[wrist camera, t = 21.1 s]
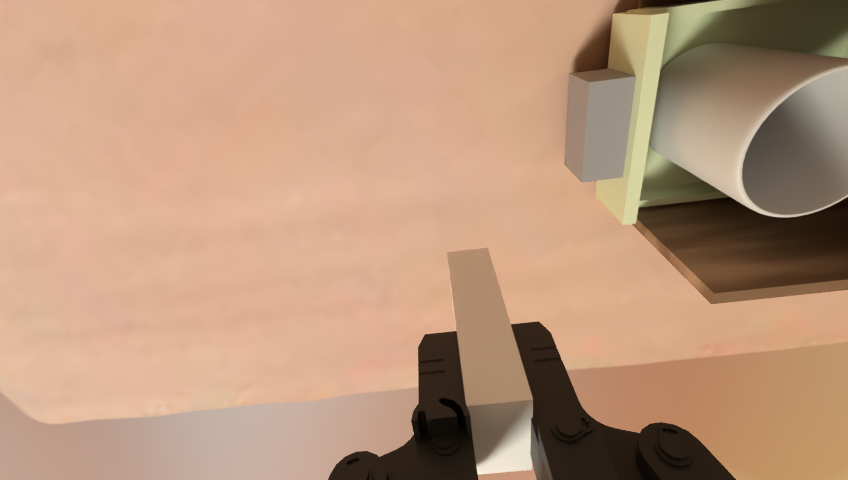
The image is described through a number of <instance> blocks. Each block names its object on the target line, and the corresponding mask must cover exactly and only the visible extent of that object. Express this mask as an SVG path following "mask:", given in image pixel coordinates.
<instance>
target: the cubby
mask: <svg viewBox="0 0 848 480" xmlns="http://www.w3.org/2000/svg"><path fill="white" fill-rule="evenodd" d="M689 1H696V0H638V6H637V9H638V8H646V7H653V6H660V5H667V4H675V3H682V2H689ZM632 225H633V226H634V227H635V228H636V229H637V230H638V231H639V232H640V233H641V234H642V235H643V236H644V237H645V238H646V239H647V240H648V241H649V242H650V243H651V244H652V245H653V246H654V247H655V248H656V249H657V250H658V251H659V252H660V253H661V254H662V255H663V256H664V257H665V258H666V259H667V260H668V261H669V262H670V263H671V264H672V265H673V266H674V267H675V268H676V269H677V270H678V271H679V272H680V273H681V274H682V275H683V276H684V277H685V278H686V279H687V280H688V281H689V282H690V283H691V284H692V285H693V286H694V287H695V288H696V289H697V290H698V291H699V292H700V293H701V294H702V295H703V296H704V297H705V298H706V299H707V300H708V301H709V302H710V303H711V304H717V303H726V302H736V301H746V300H755V299H765V298H774V297H784V296H793V295H803V294H812V293H822V292H831V291H841V290H848V197H846V198H845V199H843V200H842V201H840V202H838V203H836V204H834V205H832V206H830V207H828V208H825V209H823V210H820V211H817V212H814V213H811V214H807V215H802V216H797V217H773V216H767V215H764V214H760V213H758V212H756V211H754V210H752V209H750V208H748V207H746V206H744V205H743V204H741V203H740V202H738V201H736V200H735V199H733V198H731V197H726V198H717V199H709V200H700V201H691V202H683V203H674V204H666V205H657V206H648V207H640V208H638V214H637V220H636V224H632Z"/></svg>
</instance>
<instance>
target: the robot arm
mask: <svg viewBox="0 0 848 480" xmlns="http://www.w3.org/2000/svg"><path fill="white" fill-rule="evenodd" d="M447 258H448V267H449V276H450V285H451V294H452V303H453V312H454V320H455V328H456V331H454V332H444V333H435V334H425V335H424V337H423V339H422V341H421V343H420V345H419V347H418V362H419V364H418V369H419V404H418V405H417V407H416V408H415V410H414V412H413V416H412V420H411V422H412V426H413V431H414V435H413V436H412V438H411V439H410V440H409V441H408V442H407V443H406V444H405V445H404V446H402V447H400V448H398V449H396V450H395V451H392V452H390V453H388V454H385V455H383V456H381V457H378V456H377V455H376V454H373V453H371V452H368V451H362V452H355V453H352V454H350V455H348V456H346V457H344V458H343V459H342V460H341V461H340V462H339V463H338V464H336V466H335V468H334V469H333V471H332V473H331V474H330V476H329V479H328V480H478V474H489V473H500V472H511V471H523V470H532V462H533V466H534V470H535V474H536V478H537V480H736V479H735V478H734V477H733V476H732V475H731V474H730V473H729V472H728V470H727V469H726V468H725V467H724V466H723V465H722V464H721V463H720V462H719V461H718V460H717V459H716V458H715V457H714V456H713V455H712V454H711V452H710V451H709V450H708V449H707V448H706V447H705V446H704V445H703V444H702V443H701V442H700V441H699V440H698V439H697V438H696V437H694V436H693V435H692V434H691V433H689V432H688V431H686V430H684V429H682V428H680V427H678V426H676V425H673V424H667V423H662V422H661V423H653V424H649V425H648V426H646V427H645V428H643V429H642V430H641V433H636V432H631V431H625V430H621V429H615V428H612V427H609V426H605V425H604V424H601V423H600V422H597V421H596V420H595V419H593V418H592V417H591V416H589V415H588V414H587V413H586V411H585V410H584V409H583V408H582V406H581V404H580V402H579V401H578V398H577V396H576V393H575V391H574V388H573V386H572V384H571V381H570V379H569V376H568V374H567V371H566V369H565V366H564V364H563V362H562V360H561V357H560V354H559V352H558V350H557V349H556V345H555V342H554V340H553V337H552V335H551V333H550V332H549V331H548V330H547V329H546V328H545V327H544V326H543V325H542V324H541V323H540V322H530V323H520V324H510V320H509V317H508V314H507V310H506V307H505V304H504V300H503V297H502V294H501V290H500V287H499V284H498V280H497V277H496V274H495V270H494V267H493V264H492V260H491V257H490V254H489V250H488V248H483V249H475V250H466V251H457V252H448V253H447Z"/></svg>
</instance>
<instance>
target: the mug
mask: <svg viewBox="0 0 848 480" xmlns="http://www.w3.org/2000/svg"><path fill="white" fill-rule="evenodd" d="M648 145H649V146H650V147H651V148H652V149H653V150H654V151H655V152H656V153H658V154H659V155H661V156H662V157H664V158H666V159H668V160H669V161H671V162H673V163H675V164H677V165H678V166H680V167H682V168H684V169H685V170H687V171H689V172H690V173H692V174H693V175H695V176H697V177H698V178H700V179H702V180H703V181H705V182H707V183H708V184H710V185H712V186H713V187H715V188H716V189H718V190H720V191H721V192H723V193H725V194H726V195H728V196H730V197H731V198H733V199H735V200H736V201H738V202H740V203H741V204H743V205H744V206H746V207H748V208H750V209H752V210H754V211H756V212H758V213H760V214H764V215H767V216H773V217H797V216H802V215H807V214H811V213H814V212H817V211H820V210H823V209H825V208H828V207H830V206H832V205H834V204H836V203H838V202H840V201H842V200H843V199H845V198H846V197H848V58H840V57H832V56H824V55H816V54H808V53H800V52H791V51H783V50H775V49H767V48H759V47H752V46H745V45H739V44H733V43H709V44H705V45H701V46H698V47H695V48H692V49H690V50H688V51H686V52H684V53H682V54H681V55H679V56H678V57H676V58H675V59H674V60H672V61H671V62H670V63H669V64H667V65H666V66H665V67H664V68H663V69H662V70H661V72H660V75H659V81H658V87H657V94H656V100H655V106H654V113H653V119H652V125H651V132H650V138H649V144H648Z"/></svg>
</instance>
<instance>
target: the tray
mask: <svg viewBox="0 0 848 480" xmlns="http://www.w3.org/2000/svg"><path fill="white" fill-rule="evenodd" d="M709 43H733V44H739V45H745V46H752V47H759V48H767V49H775V50H783V51H791V52H800V53H808V54H816V55H824V56H832V57H840V58H848V0H696V1H689V2H682V3H675V4H667V5H660V6H653V7H646V8H638V9H631V10H628V11H627V12H621V13H614V14H613V18H612V28H611V38H610V49H609V59H608V68H607V69H600V70H592V71H585V72H577V73H569V86H568V105H567V124H566V142H565V161H564V164H565V165H566V166H567V167H568V168H569V170H570V171H571V172H572V173H573V174H574V175H575V176H576V177H577V178H578V179H579V180H580V181H581V182H589V181H597V182H596V192H595V196H596V197H597V199H598V200H599V201H600V202H601V203H602V204H603V205H604V206H605V207H606V208H607V209H608V210H609V211H610V212H611V213H612V214H613V216H614V217H615V218H616V219H617V220H618V221H619V222H620V223H621V224H622V225H628V224H636V220H637V214H638V208H640V207H648V206H657V205H666V204H674V203H683V202H691V201H700V200H709V199H717V198H726V197H730V196H728V195H726V194H725V193H723V192H721V191H720V190H718V189H716V188H715V187H713V186H712V185H710V184H708V183H707V182H705V181H703V180H702V179H700V178H698V177H697V176H695V175H693V174H692V173H690V172H689V171H687V170H685V169H684V168H682V167H680V166H678V165H677V164H675V163H673V162H671V161H669V160H668V159H666V158H664V157H662V156H661V155H659V154H658V153H656V152H655V151H654V150H653V149H652V148H651V147H650V146H649V145H648V144H649V138H650V132H651V125H652V119H653V113H654V106H655V100H656V94H657V87H658V81H659V75H660V72H661V70H662V69H663V68H664V67H665V66H666V65H667V64H669V63H670V62H671V61H672V60H674V59H675V58H676V57H678V56H679V55H681V54H682V53H684V52H686V51H688V50H690V49H692V48H695V47H698V46H701V45H705V44H709Z"/></svg>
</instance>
